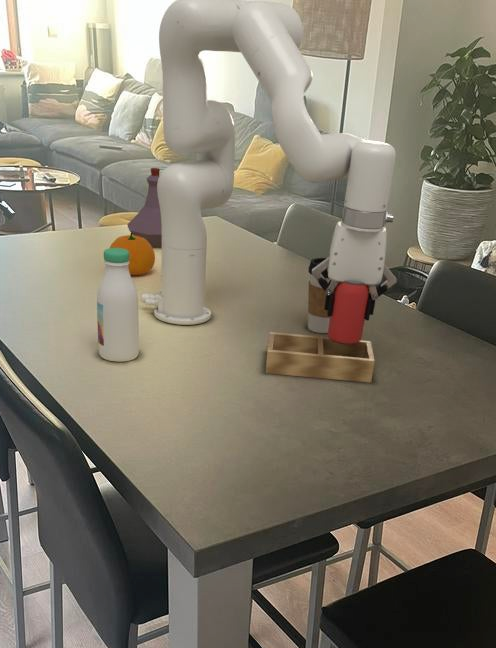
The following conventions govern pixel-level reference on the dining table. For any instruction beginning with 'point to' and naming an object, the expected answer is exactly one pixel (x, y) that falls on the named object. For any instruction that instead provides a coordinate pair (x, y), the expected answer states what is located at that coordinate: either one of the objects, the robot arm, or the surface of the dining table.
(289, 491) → the dining table surface
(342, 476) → the dining table surface
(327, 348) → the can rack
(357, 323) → the beer can
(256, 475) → the dining table surface
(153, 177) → the flask
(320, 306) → the coffee cup
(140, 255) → the fruit
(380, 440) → the dining table surface
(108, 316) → the milk bottle
